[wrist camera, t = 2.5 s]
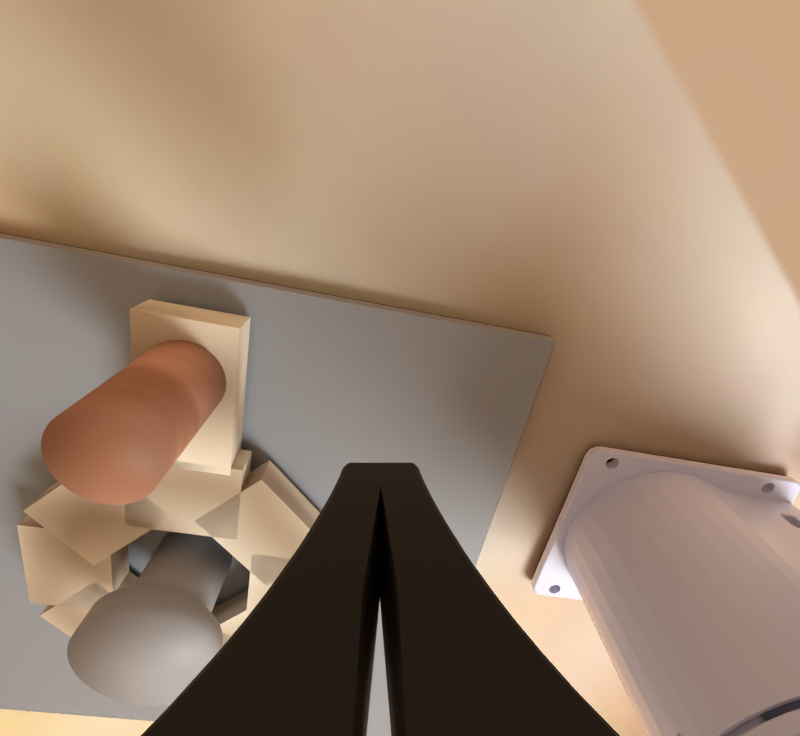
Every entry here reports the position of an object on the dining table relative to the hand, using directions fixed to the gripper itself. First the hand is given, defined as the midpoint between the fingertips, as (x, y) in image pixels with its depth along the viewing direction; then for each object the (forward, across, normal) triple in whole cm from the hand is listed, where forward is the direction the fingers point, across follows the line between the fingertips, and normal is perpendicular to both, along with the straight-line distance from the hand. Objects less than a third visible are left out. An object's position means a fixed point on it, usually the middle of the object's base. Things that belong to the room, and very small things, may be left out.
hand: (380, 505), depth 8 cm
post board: (+8, +8, +9) cm, 14 cm away
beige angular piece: (+7, +7, +6) cm, 12 cm away
